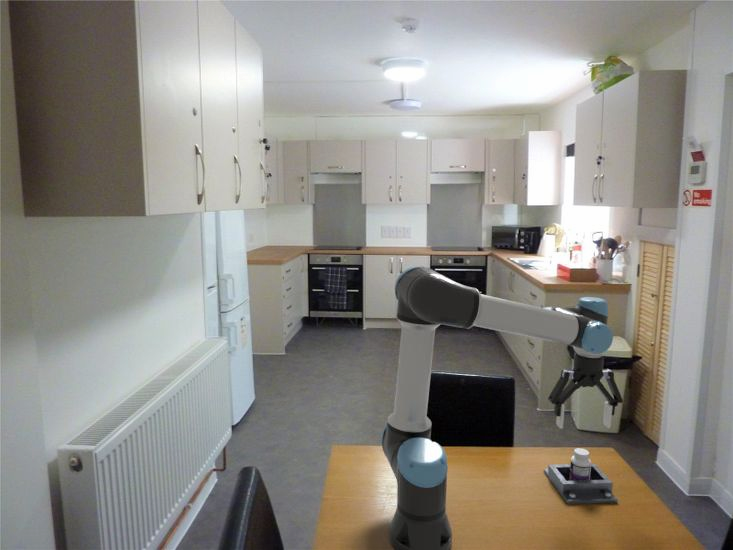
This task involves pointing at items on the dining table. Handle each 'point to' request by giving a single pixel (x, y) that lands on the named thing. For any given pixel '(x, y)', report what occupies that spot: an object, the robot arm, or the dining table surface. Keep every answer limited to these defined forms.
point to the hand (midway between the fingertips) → (583, 426)
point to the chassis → (581, 485)
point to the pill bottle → (580, 465)
